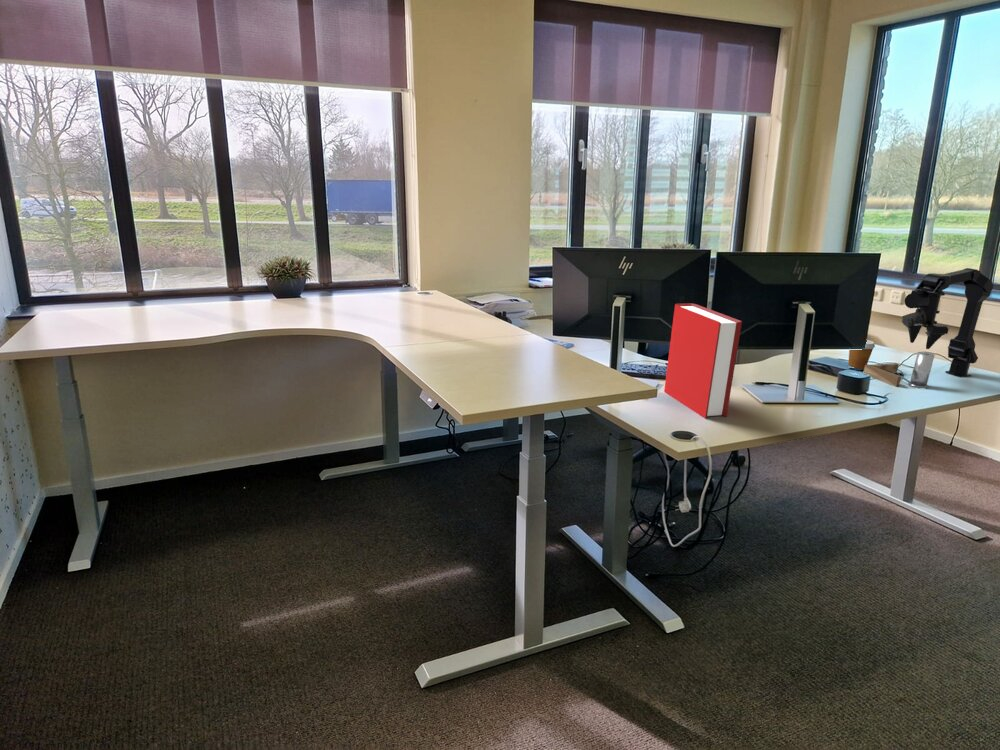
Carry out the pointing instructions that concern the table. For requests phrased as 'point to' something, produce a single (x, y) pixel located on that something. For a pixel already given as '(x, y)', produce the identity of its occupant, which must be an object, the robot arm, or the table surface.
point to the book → (702, 359)
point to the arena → (884, 373)
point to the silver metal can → (921, 370)
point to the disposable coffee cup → (861, 356)
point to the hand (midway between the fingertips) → (919, 345)
